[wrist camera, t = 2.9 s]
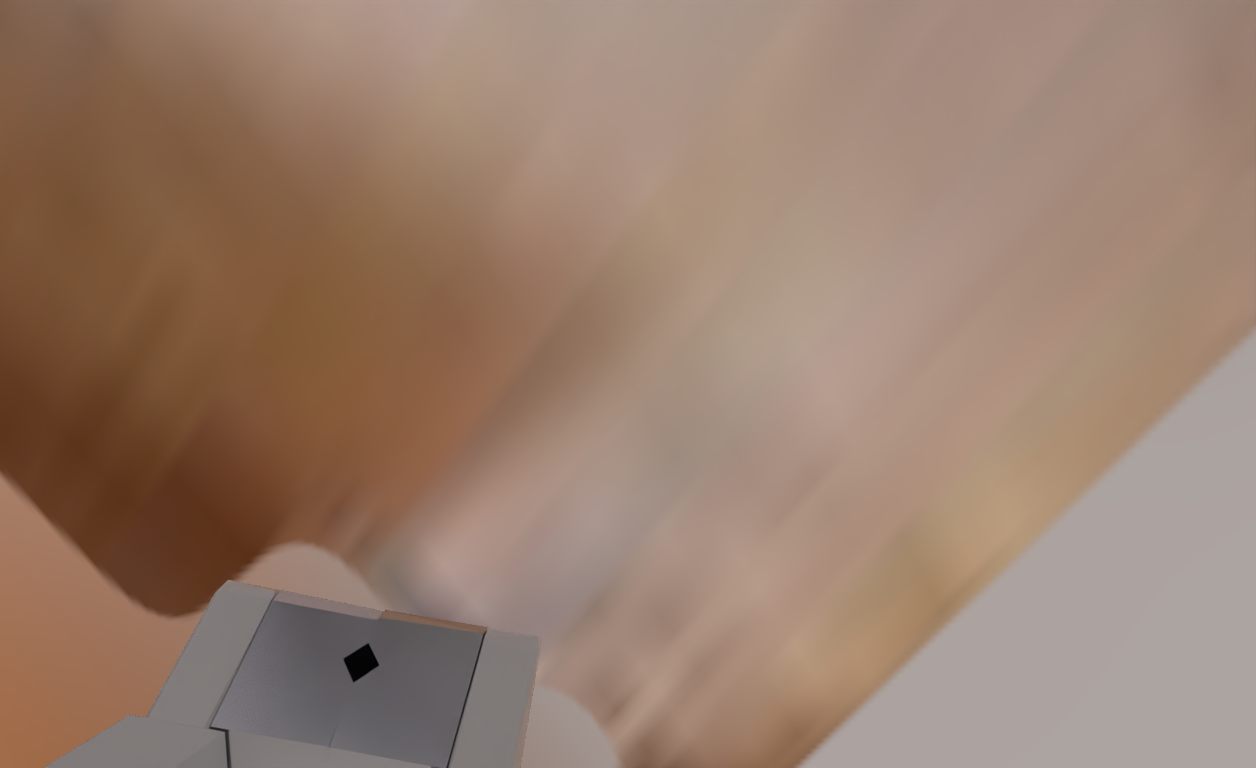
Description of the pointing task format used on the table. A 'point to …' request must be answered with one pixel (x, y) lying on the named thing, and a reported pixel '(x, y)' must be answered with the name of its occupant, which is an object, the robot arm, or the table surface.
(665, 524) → the table surface
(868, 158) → the table surface
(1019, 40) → the table surface
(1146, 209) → the table surface
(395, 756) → the robot arm
